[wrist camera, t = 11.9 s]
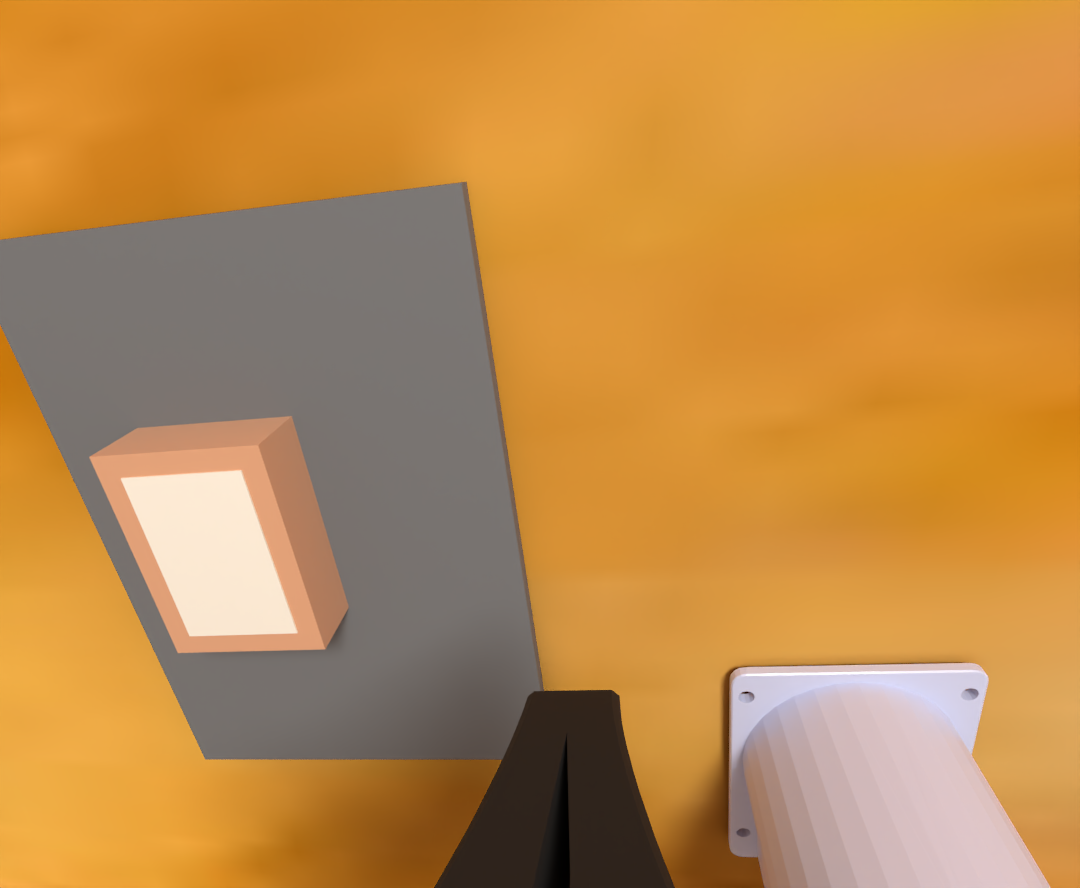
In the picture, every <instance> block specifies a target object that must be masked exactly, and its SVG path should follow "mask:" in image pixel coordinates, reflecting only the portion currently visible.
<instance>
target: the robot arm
mask: <svg viewBox="0 0 1080 888" xmlns="http://www.w3.org/2000/svg"><path fill="white" fill-rule="evenodd" d="M987 686H988V676H987V674H986V673H985V672H984V670H983V669H982V668H981V666H979V665H977V664H974V663H939V664H885V665H831V666H777V667H742V668H738V669H736V670H734V671H733V672H732V673H731V675H730V691H729V820H728V841H729V847H730V851H731V852H732V853H733V854H734V855H737V856H740V857H758V860H759V865H760V870H761V874H762V879H763V884H764V888H1051V887H1050V886H1049V884H1048V882H1047V881H1046V879H1045V877H1044V876H1043V874H1042V872H1041V870H1040V869H1039V867H1038V865H1037V864H1036V862H1035V860H1034V859H1033V857H1032V855H1031V854H1030V852H1029V850H1028V849H1027V847H1026V845H1025V844H1024V842H1023V840H1022V839H1021V837H1020V835H1019V834H1018V832H1017V830H1016V829H1015V827H1014V825H1013V824H1012V822H1011V820H1010V819H1009V817H1008V815H1007V814H1006V812H1005V810H1004V809H1003V807H1002V805H1001V804H1000V802H999V800H998V799H997V797H996V795H995V794H994V792H993V790H992V789H991V787H990V785H989V784H988V782H987V780H986V779H985V777H984V775H983V774H982V772H981V770H980V769H979V767H978V765H977V764H976V762H975V760H974V759H973V757H972V751H973V747H974V743H975V738H976V734H977V729H978V725H979V721H980V716H981V712H982V708H983V703H984V699H985V695H986V690H987ZM966 689H968V690H966ZM964 690H966V691H964ZM746 691H748V692H749V693H747V694H741V693H742V692H746ZM434 888H675V887H674V884H673V882H672V880H671V877H670V875H669V872H668V870H667V867H666V865H665V862H664V860H663V857H662V854H661V852H660V849H659V846H658V844H657V841H656V838H655V836H654V833H653V830H652V827H651V824H650V821H649V818H648V816H647V813H646V810H645V807H644V804H643V801H642V798H641V795H640V792H639V789H638V786H637V782H636V779H635V776H634V772H633V769H632V765H631V761H630V757H629V754H628V750H627V746H626V741H625V737H624V732H623V727H622V721H621V710H620V698H619V695H617V694H616V693H615V692H614V691H612V690H582V691H534V692H533V693H531V694H530V695H529V696H528V697H527V700H526V703H525V706H524V709H523V712H522V714H521V717H520V720H519V722H518V725H517V727H516V730H515V732H514V734H513V737H512V739H511V741H510V744H509V746H508V748H507V751H506V753H505V755H504V757H503V759H502V761H501V764H500V766H499V768H498V770H497V772H496V774H495V776H494V778H493V780H492V782H491V784H490V786H489V788H488V790H487V792H486V794H485V796H484V798H483V800H482V802H481V804H480V806H479V808H478V810H477V812H476V814H475V816H474V818H473V820H472V822H471V824H470V826H469V828H468V829H467V831H466V833H465V835H464V836H463V838H462V840H461V842H460V844H459V845H458V847H457V849H456V851H455V852H454V854H453V856H452V858H451V859H450V861H449V863H448V865H447V866H446V868H445V870H444V872H443V873H442V875H441V877H440V879H439V880H438V882H437V884H436V885H435V887H434Z"/></svg>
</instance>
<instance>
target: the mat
mask: <svg viewBox="0 0 1080 888" xmlns="http://www.w3.org/2000/svg"><path fill="white" fill-rule="evenodd" d="M0 325H1V327H2V329H3V331H4V333H5V336H6V338H7V340H8V342H9V344H10V346H11V348H12V350H13V352H14V355H15V357H16V359H17V361H18V363H19V365H20V367H21V369H22V372H23V374H24V376H25V378H26V380H27V382H28V384H29V386H30V389H31V391H32V393H33V395H34V397H35V399H36V401H37V403H38V405H39V408H40V410H41V412H42V414H43V416H44V418H45V420H46V422H47V425H48V427H49V429H50V431H51V433H52V435H53V437H54V439H55V442H56V444H57V446H58V448H59V450H60V452H61V454H62V456H63V458H64V461H65V463H66V465H67V467H68V469H69V471H70V473H71V475H72V478H73V480H74V482H75V484H76V486H77V488H78V490H79V492H80V494H81V497H82V499H83V501H84V503H85V505H86V507H87V509H88V511H89V514H90V516H91V518H92V520H93V522H94V524H95V526H96V528H97V531H98V533H99V535H100V537H101V539H102V541H103V543H104V545H105V547H106V550H107V552H108V554H109V556H110V558H111V560H112V562H113V564H114V567H115V569H116V571H117V573H118V575H119V577H120V579H121V581H122V584H123V586H124V588H125V590H126V592H127V594H128V596H129V598H130V600H131V603H132V605H133V607H134V609H135V611H136V613H137V615H138V617H139V620H140V622H141V624H142V626H143V628H144V630H145V632H146V634H147V637H148V639H149V641H150V643H151V645H152V647H153V649H154V651H155V653H156V656H157V658H158V660H159V662H160V664H161V666H162V668H163V670H164V673H165V675H166V677H167V679H168V681H169V683H170V685H171V687H172V690H173V692H174V694H175V696H176V698H177V700H178V702H179V704H180V706H181V709H182V711H183V713H184V715H185V717H186V719H187V721H188V723H189V726H190V728H191V730H192V732H193V734H194V736H195V738H196V740H197V742H198V745H199V747H200V749H201V751H202V753H203V755H204V757H205V759H503V757H504V755H505V753H506V751H507V748H508V746H509V744H510V741H511V739H512V737H513V734H514V732H515V730H516V727H517V725H518V722H519V720H520V717H521V714H522V712H523V709H524V706H525V703H526V700H527V697H528V696H529V695H530V694H531V693H533V692H534V691H544V688H543V682H542V675H541V669H540V662H539V656H538V649H537V642H536V636H535V629H534V623H533V616H532V610H531V603H530V596H529V590H528V583H527V577H526V570H525V564H524V557H523V550H522V544H521V537H520V531H519V524H518V518H517V511H516V504H515V498H514V491H513V485H512V478H511V472H510V465H509V458H508V452H507V445H506V439H505V432H504V426H503V419H502V412H501V406H500V399H499V393H498V386H497V380H496V373H495V366H494V360H493V353H492V347H491V340H490V334H489V327H488V321H487V314H486V307H485V301H484V294H483V288H482V281H481V275H480V268H479V261H478V255H477V248H476V242H475V235H474V229H473V222H472V215H471V209H470V202H469V196H468V189H467V183H466V182H461V183H453V184H445V185H437V186H429V187H421V188H413V189H405V190H397V191H389V192H381V193H373V194H365V195H357V196H349V197H341V198H333V199H325V200H317V201H309V202H301V203H293V204H285V205H276V206H268V207H260V208H252V209H244V210H236V211H228V212H220V213H212V214H204V215H196V216H188V217H180V218H172V219H164V220H156V221H148V222H140V223H132V224H124V225H116V226H108V227H100V228H92V229H84V230H76V231H68V232H60V233H51V234H43V235H35V236H27V237H19V238H11V239H3V240H0ZM287 416H292V419H293V422H294V425H295V429H296V432H297V436H298V439H299V442H300V446H301V449H302V452H303V456H304V459H305V462H306V466H307V469H308V472H309V476H310V479H311V482H312V486H313V489H314V492H315V496H316V499H317V502H318V506H319V509H320V512H321V516H322V519H323V522H324V526H325V529H326V532H327V536H328V539H329V543H330V546H331V549H332V553H333V556H334V559H335V563H336V566H337V569H338V573H339V576H340V579H341V583H342V586H343V589H344V593H345V596H346V599H347V603H348V606H349V608H348V610H347V612H346V613H345V615H344V617H343V619H342V620H341V622H340V624H339V626H338V628H337V629H336V631H335V633H334V635H333V637H332V638H331V640H330V642H329V644H328V645H327V647H326V649H321V650H280V651H239V652H198V653H178V652H177V650H176V648H175V645H174V643H173V641H172V639H171V637H170V634H169V632H168V630H167V628H166V626H165V623H164V621H163V619H162V617H161V615H160V612H159V610H158V608H157V606H156V603H155V601H154V599H153V597H152V595H151V592H150V590H149V588H148V586H147V584H146V581H145V579H144V577H143V575H142V573H141V570H140V568H139V566H138V564H137V562H136V559H135V557H134V555H133V553H132V551H131V548H130V546H129V544H128V542H127V540H126V537H125V535H124V533H123V531H122V528H121V526H120V524H119V522H118V520H117V517H116V515H115V513H114V511H113V509H112V506H111V504H110V502H109V500H108V498H107V495H106V493H105V491H104V489H103V487H102V484H101V482H100V480H99V478H98V476H97V473H96V471H95V469H94V467H93V464H92V462H91V460H90V458H89V457H90V456H92V455H93V454H95V453H97V452H98V451H100V450H102V449H103V448H105V447H107V446H108V445H110V444H112V443H113V442H115V441H117V440H118V439H120V438H122V437H123V436H125V435H127V434H128V433H130V432H132V431H133V430H135V429H137V428H144V427H157V426H170V425H183V424H196V423H209V422H222V421H235V420H248V419H261V418H274V417H287Z"/></svg>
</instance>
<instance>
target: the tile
mask: <svg viewBox="0 0 1080 888" xmlns="http://www.w3.org/2000/svg"><path fill="white" fill-rule="evenodd" d="M89 458H90V460H91V462H92V464H93V467H94V469H95V471H96V473H97V476H98V478H99V480H100V482H101V484H102V487H103V489H104V491H105V493H106V495H107V498H108V500H109V502H110V504H111V506H112V509H113V511H114V513H115V515H116V517H117V520H118V522H119V524H120V526H121V528H122V531H123V533H124V535H125V537H126V540H127V542H128V544H129V546H130V548H131V551H132V553H133V555H134V557H135V559H136V562H137V564H138V566H139V568H140V570H141V573H142V575H143V577H144V579H145V581H146V584H147V586H148V588H149V590H150V592H151V595H152V597H153V599H154V601H155V603H156V606H157V608H158V610H159V612H160V615H161V617H162V619H163V621H164V623H165V626H166V628H167V630H168V632H169V634H170V637H171V639H172V641H173V643H174V645H175V648H176V650H177V652H178V653H198V652H239V651H280V650H321V649H326V647H327V645H328V644H329V642H330V640H331V638H332V637H333V635H334V633H335V631H336V629H337V628H338V626H339V624H340V622H341V620H342V619H343V617H344V615H345V613H346V612H347V610H348V608H349V606H348V603H347V599H346V596H345V593H344V589H343V586H342V583H341V579H340V576H339V573H338V569H337V566H336V563H335V559H334V556H333V553H332V549H331V546H330V543H329V539H328V536H327V532H326V529H325V526H324V522H323V519H322V516H321V512H320V509H319V506H318V502H317V499H316V496H315V492H314V489H313V486H312V482H311V479H310V476H309V472H308V469H307V466H306V462H305V459H304V456H303V452H302V449H301V446H300V442H299V439H298V436H297V432H296V429H295V425H294V422H293V419H292V416H287V417H274V418H261V419H248V420H235V421H222V422H209V423H196V424H183V425H170V426H157V427H144V428H137V429H135V430H133V431H132V432H130V433H128V434H127V435H125V436H123V437H122V438H120V439H118V440H117V441H115V442H113V443H112V444H110V445H108V446H107V447H105V448H103V449H102V450H100V451H98V452H97V453H95V454H93V455H92V456H90V457H89Z"/></svg>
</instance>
